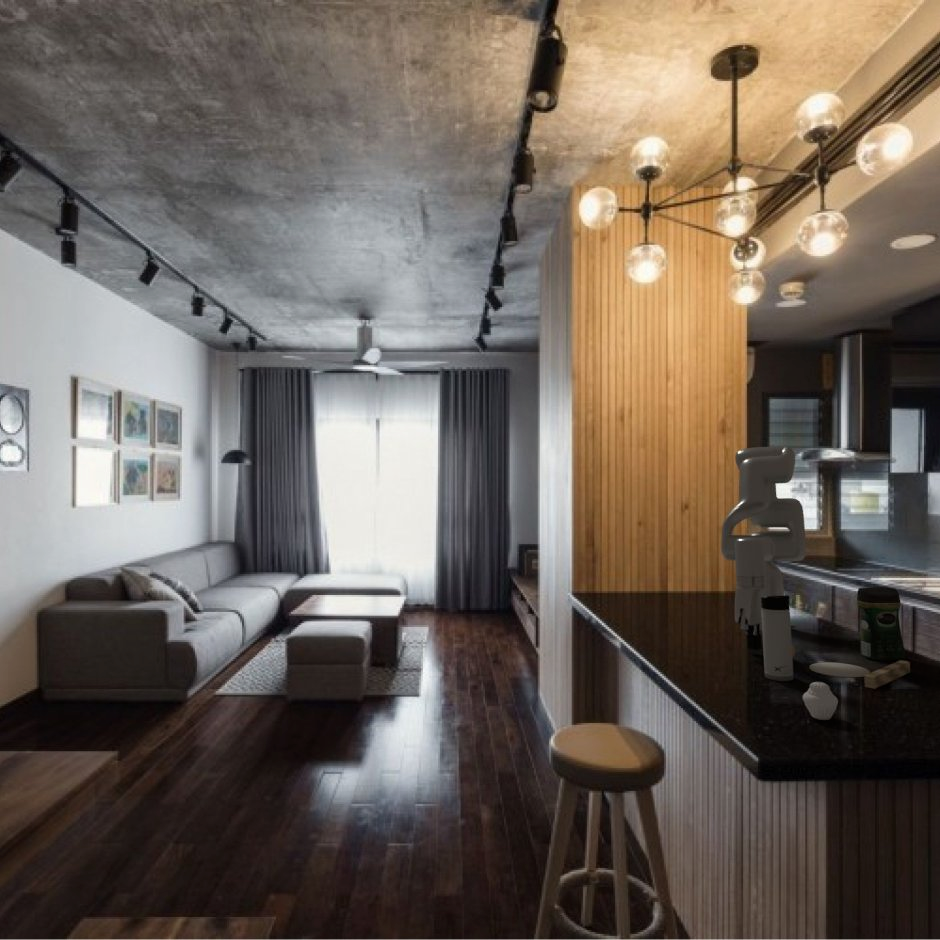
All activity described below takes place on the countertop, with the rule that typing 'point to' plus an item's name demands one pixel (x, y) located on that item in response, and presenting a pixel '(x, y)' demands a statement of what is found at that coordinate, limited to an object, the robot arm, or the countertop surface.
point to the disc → (839, 669)
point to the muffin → (820, 701)
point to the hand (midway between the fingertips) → (754, 648)
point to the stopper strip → (887, 674)
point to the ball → (793, 651)
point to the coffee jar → (880, 623)
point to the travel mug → (777, 638)
